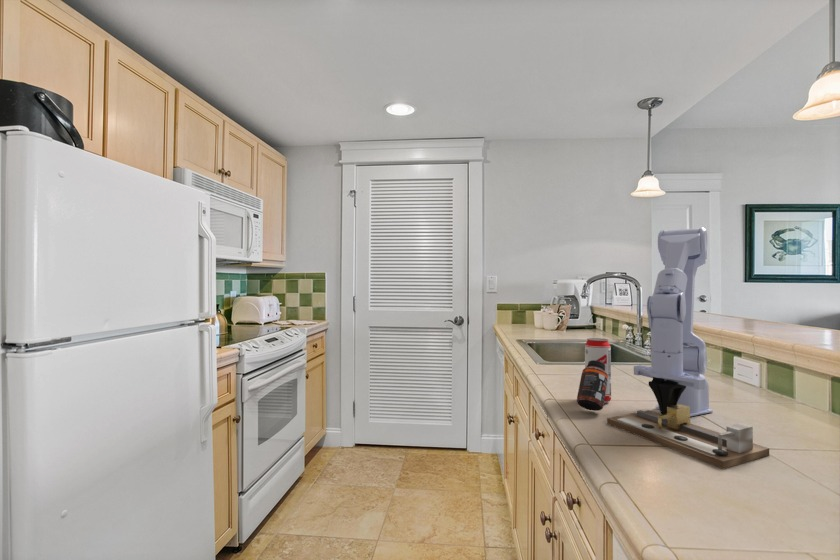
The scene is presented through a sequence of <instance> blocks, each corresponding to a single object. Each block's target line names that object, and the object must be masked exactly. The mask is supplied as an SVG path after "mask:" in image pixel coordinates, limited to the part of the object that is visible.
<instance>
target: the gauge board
mask: <svg viewBox="0 0 840 560" xmlns="http://www.w3.org/2000/svg"><path fill="white" fill-rule="evenodd" d="M658 415H661V413H658V412H655V411H652V410H648V409H647V410H641V409H640V410H637V411H636V412H632V413H626V414H621V415H616V416H611V417H606V424H608V425H610V426H613V427H615V428H618V429H621V430H623V431H626V432H627V433H631V434H633V435H636V436H639V437H641V438H643V439H646V440H648V441H651V442H654V443H656V444H658V445H662V446H664V447H666V448H669V449H672V450H675V451H677V452H680V453H682V454H685V455H687V456H690V457H692V458H695V459H698V460H700V461H703V462H705V463H708V464H710V465H713V466H716V467H719V468H721V469H723V470H724V469H727V468H731V467H733V466H737V465H741V464H743V463H747V462H749V461H750V462H751V461H754V460H758V459H760V458H761V459H762V458H764V457H768V456H770V448H769V447H766V446H763V445H760V444H757V443H754V442H753V440H754V439H753V438H754V435H753V434H754V432H753V431H754V430H753V429H754V428H753V425H749V424H745V423H741V422H739V423H735V424H730V425H726V430H725V432H719V431H716V430H713V429H709V428H706V427H703V426H699V425H697V424H693V423H691V422H690V426H688V425H685V424H682V423H681V424H680V429H679V430H676V429H673V428H670V427H668V422H667V418H663V419H662V429H658Z"/></svg>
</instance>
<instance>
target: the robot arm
mask: <svg viewBox="0 0 840 560" xmlns="http://www.w3.org/2000/svg"><path fill="white" fill-rule="evenodd" d="M657 250H658V253H659V255H660V259H661V262H662V264H663V265H664V269H661V271H660V270H659V272H658V274H657V277H656V282H655V285H654V291H653V294H652V296H650V295H649V296H648V297H647V301H646V312H647V318H648V329H650V363H651V365H650V366H646V365H641V364H639V365H634V366H633V375H635V376H642V377H647V378H651V381H650V380H649V381H648V386H649V388H650V390H651V391H652V393H653V394H654V396H655V399H656V401H657V405H655V408H656V409H658V410H659V411H660V414H666V413H667V407H668V406H673V405H679V404H681V405H685V406H688V407H690V418H691V417H696V416H700V415H705V414H709V413H713V412H714V410H713V409H711V408H710V396H709V395H710V390H709V389H710V388H709V387H710V386H709V385H710V384H709V382H708V380H707V378H706V377H705V376H704V374H705V373H706V372H707V369H708V368H707V367H708V355H707V344H706V343H705V341H704V340H703V339H702V338H701V337H699V336H698V335H696V334H695V333H694V312H695V310H694V309H695V306H694V305H695V281H696V280H695V279H696V274H697V271H698V268H700V267H701V266H703V265H705V264H706V260H707V259H708V258H707V257H708V233H707V229H706V228H705V227H699V228H698V227H696V228H684V229H683V228H682V229H681V228H680V229H670V230H665V229H664V230H663V229H662V230H660V231H659V232H658V235H657Z"/></svg>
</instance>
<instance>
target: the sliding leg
mask: <svg viewBox="0 0 840 560" xmlns="http://www.w3.org/2000/svg"><path fill="white" fill-rule="evenodd" d="M660 414H661V413H660ZM663 418H667V422H668V427H670V428H673V429H676V430H679V429H680V424H681V423H682V424H685V425H688V426H690V423H691V417H690V407H688V406H685V405H681V404H679V405H673V406H668V407H667V413H666V414H661V415H658V429H662V419H663Z"/></svg>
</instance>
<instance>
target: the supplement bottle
mask: <svg viewBox="0 0 840 560" xmlns="http://www.w3.org/2000/svg"><path fill="white" fill-rule="evenodd" d="M607 380H608V375H607V373H606V372H605V365H604V363H602V362H600V361H596V360H592V361H589V362H588V365H587V367H586V368H585V367H584V368H583V369H582V371H581V375H580V381H579V385H578V392H577V395H576V396H577V397H576V403H577V404H578V406H580V407H581V408H582V409H586V410H587V411H593V412H594V411H595V412H596V411H601V410H602V409H603V408H604V405H605V403H604V399H605V393H606V387H607Z"/></svg>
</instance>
